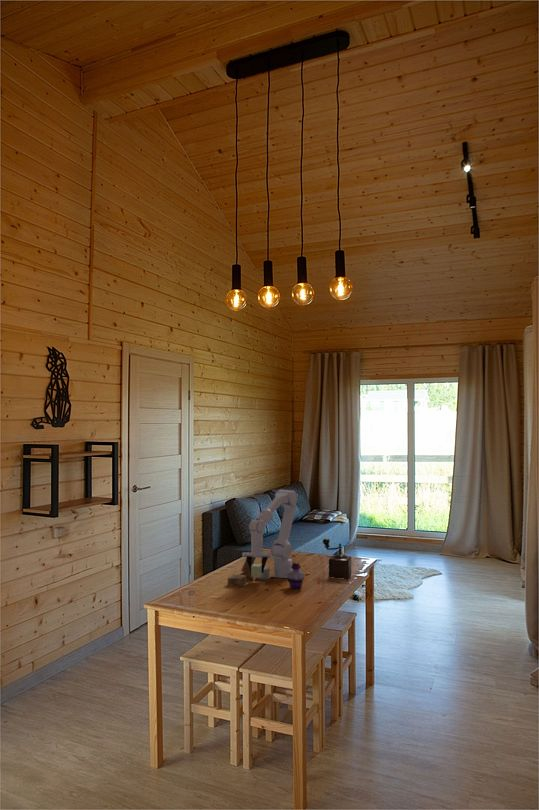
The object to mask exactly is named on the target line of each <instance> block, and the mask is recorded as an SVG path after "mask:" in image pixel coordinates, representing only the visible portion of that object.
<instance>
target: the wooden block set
mask: <svg viewBox="0 0 539 810" xmlns="http://www.w3.org/2000/svg"><path fill="white" fill-rule="evenodd" d="M256 558H257V557H253V562H252V565H253V564H255V561H256ZM241 572H242V573H244V575H246V578H247V579H250V580H253V579H254V577H251V572H250V568H249V565H248V562H247V560H246V559H245V562H244V563H243V566H242V568H241Z"/></svg>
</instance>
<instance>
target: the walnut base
mask: <svg viewBox="0 0 539 810" xmlns="http://www.w3.org/2000/svg"><path fill="white" fill-rule="evenodd" d="M246 583H247V576H246V575H245V574H231V575H230V576H229V577H227V587H235V586H239V587H238V588H242V587H244V586H245V584H246Z"/></svg>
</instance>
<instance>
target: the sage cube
mask: <svg viewBox="0 0 539 810" xmlns="http://www.w3.org/2000/svg"><path fill="white" fill-rule="evenodd" d="M262 575H263V573H262V563H253V565H252V566H251V577H253V578H258V577H262Z"/></svg>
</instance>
